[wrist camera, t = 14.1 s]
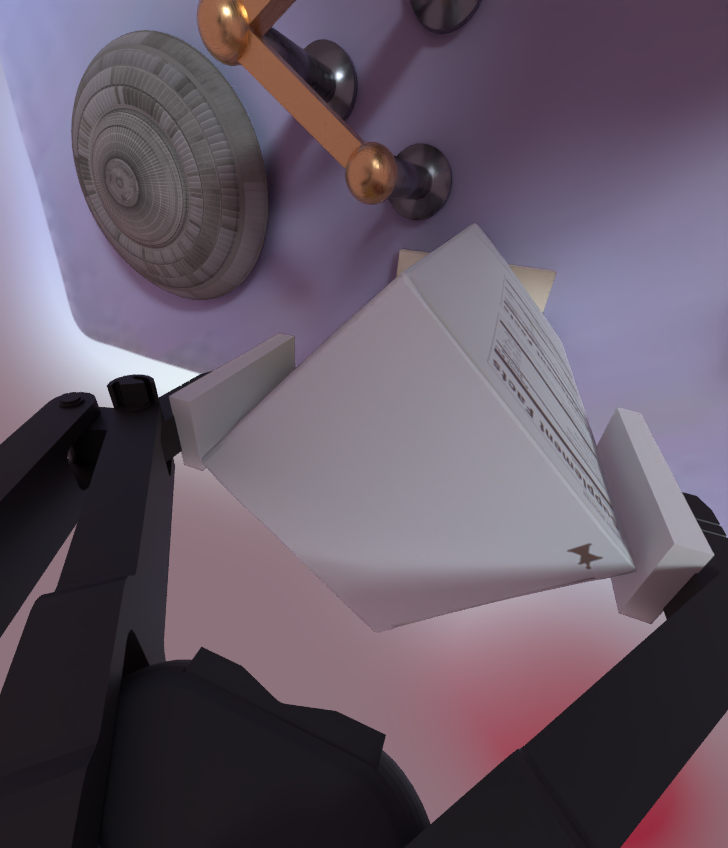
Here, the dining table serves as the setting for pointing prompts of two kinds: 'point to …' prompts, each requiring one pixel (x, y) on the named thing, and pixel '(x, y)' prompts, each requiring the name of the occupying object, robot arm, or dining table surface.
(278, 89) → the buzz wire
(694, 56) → the dining table surface
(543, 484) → the supplement box
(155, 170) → the flying saucer
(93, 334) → the dining table surface
